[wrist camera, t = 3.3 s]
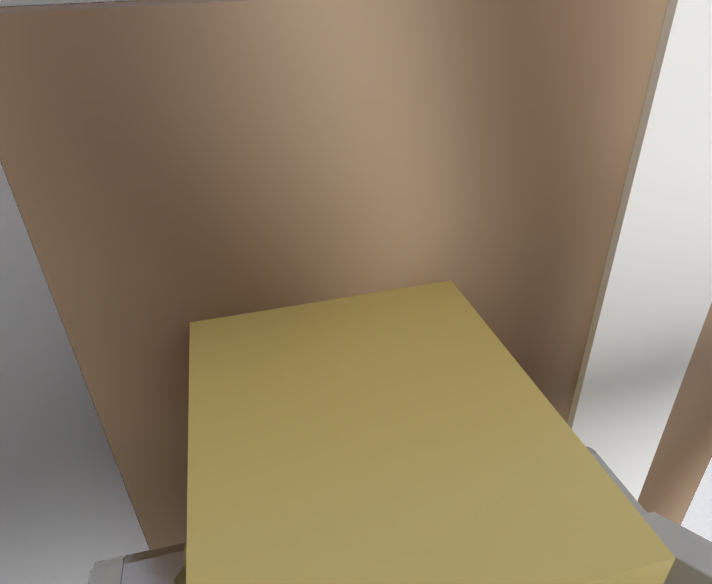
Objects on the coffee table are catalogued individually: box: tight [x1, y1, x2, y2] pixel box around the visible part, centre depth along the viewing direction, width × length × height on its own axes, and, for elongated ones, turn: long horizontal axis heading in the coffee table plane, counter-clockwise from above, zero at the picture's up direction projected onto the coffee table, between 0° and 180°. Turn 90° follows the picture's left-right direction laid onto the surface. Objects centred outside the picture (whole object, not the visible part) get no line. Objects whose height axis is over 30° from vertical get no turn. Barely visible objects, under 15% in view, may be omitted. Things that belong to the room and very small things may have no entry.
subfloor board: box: [0, 0, 712, 550], centre depth 13 cm, size 16×17×2 cm
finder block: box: [186, 280, 675, 584], centre depth 9 cm, size 5×7×6 cm
